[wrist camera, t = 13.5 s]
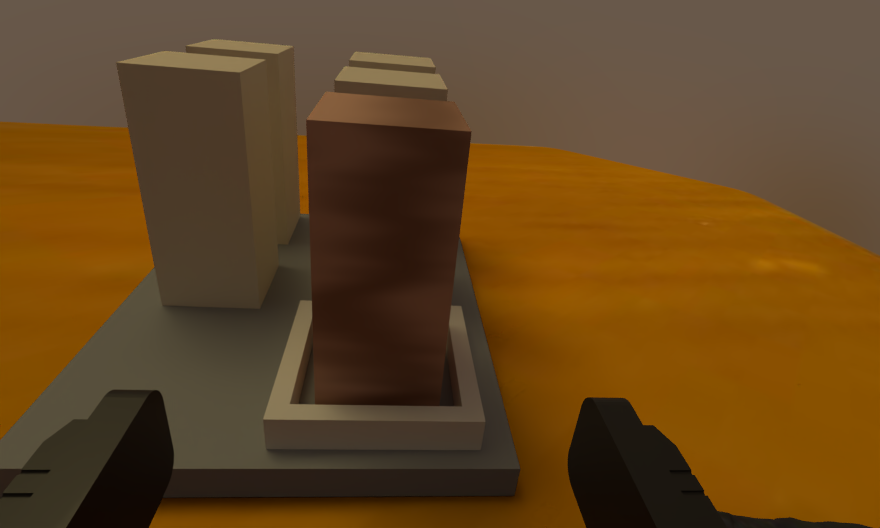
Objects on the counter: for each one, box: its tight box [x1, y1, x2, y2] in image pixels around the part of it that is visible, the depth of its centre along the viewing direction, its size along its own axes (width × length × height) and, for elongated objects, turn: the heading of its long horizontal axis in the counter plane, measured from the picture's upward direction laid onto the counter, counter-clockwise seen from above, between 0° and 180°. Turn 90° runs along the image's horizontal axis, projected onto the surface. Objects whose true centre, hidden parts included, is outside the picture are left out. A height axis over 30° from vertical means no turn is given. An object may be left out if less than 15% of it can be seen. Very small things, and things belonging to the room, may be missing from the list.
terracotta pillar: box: [306, 92, 471, 406], centre depth 20 cm, size 5×5×12 cm
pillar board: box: [0, 39, 520, 498], centre depth 27 cm, size 19×24×14 cm
